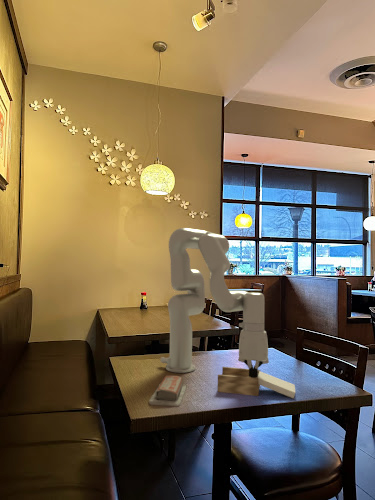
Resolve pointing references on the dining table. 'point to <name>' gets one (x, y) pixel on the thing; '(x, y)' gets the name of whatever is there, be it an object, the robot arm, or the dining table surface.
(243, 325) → the robot arm
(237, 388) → the box
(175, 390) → the packaged product
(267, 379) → the cover plate
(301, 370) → the dining table surface
